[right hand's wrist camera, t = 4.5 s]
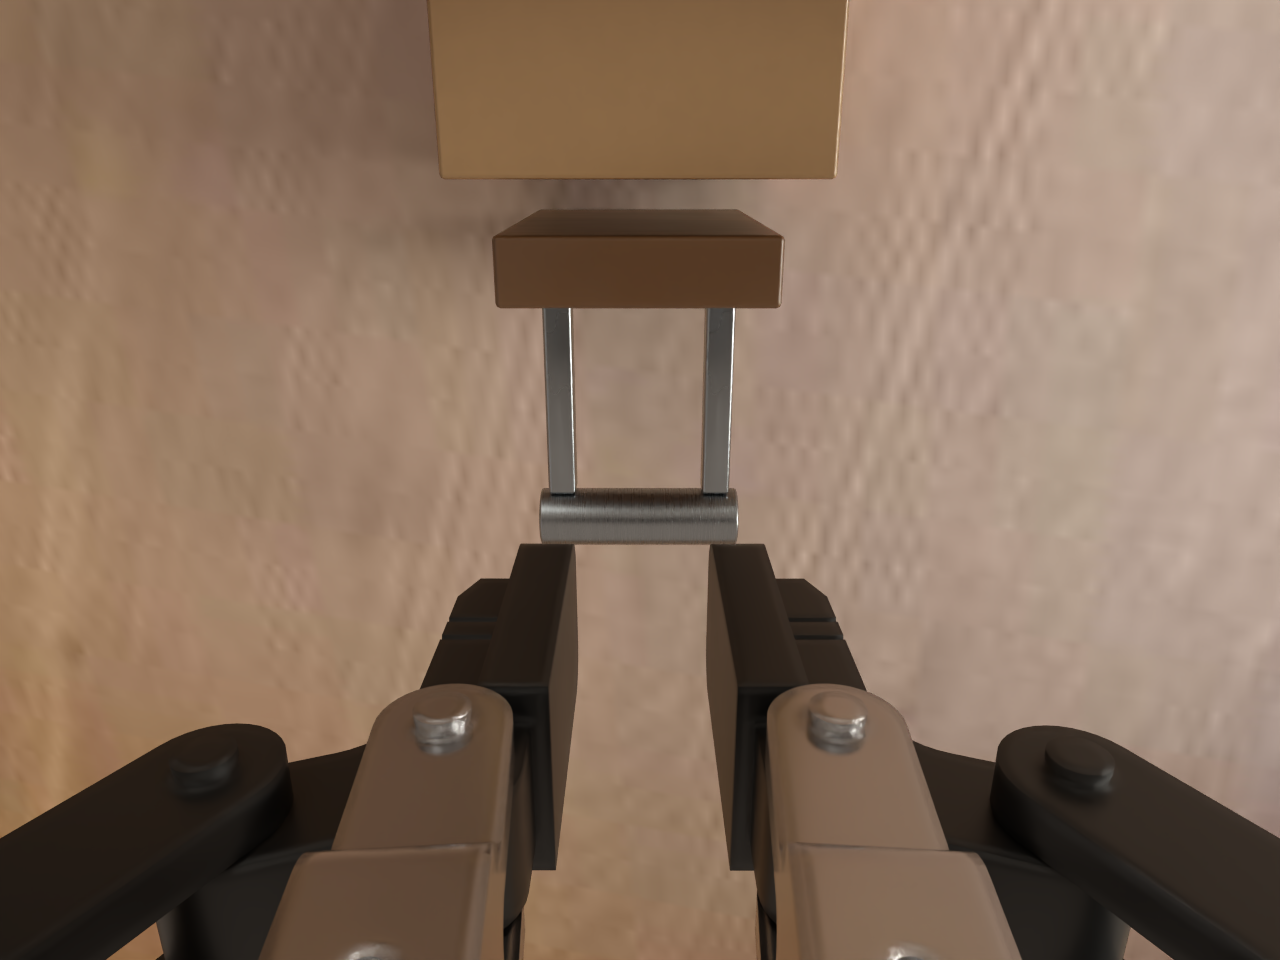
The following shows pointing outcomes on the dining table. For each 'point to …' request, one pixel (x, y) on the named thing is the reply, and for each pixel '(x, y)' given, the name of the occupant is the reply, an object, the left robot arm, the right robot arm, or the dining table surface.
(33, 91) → the dining table surface
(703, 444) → the drawer
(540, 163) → the cabinet
